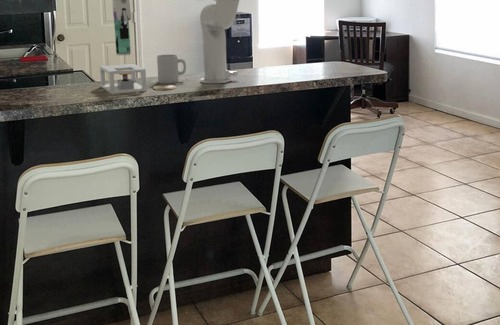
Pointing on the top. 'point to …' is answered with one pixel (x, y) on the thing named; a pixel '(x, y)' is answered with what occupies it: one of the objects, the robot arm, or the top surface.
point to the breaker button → (125, 76)
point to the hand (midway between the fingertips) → (122, 37)
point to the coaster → (164, 87)
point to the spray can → (121, 44)
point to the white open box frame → (122, 85)
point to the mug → (169, 68)
